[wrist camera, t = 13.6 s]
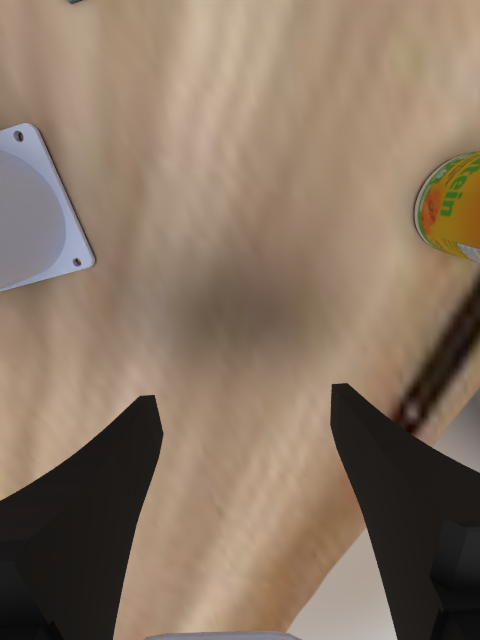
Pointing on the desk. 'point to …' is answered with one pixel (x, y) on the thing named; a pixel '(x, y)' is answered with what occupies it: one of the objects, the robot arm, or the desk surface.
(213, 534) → the desk surface
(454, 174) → the supplement bottle
